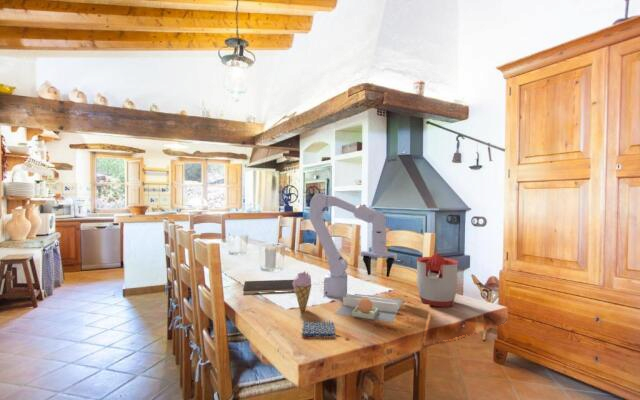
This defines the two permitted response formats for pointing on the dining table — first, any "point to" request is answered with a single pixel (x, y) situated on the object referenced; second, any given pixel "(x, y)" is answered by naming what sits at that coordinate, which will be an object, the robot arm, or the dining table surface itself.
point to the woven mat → (318, 330)
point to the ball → (365, 305)
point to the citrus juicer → (437, 280)
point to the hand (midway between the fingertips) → (378, 275)
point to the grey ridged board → (384, 305)
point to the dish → (369, 315)
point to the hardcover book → (267, 286)
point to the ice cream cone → (302, 289)
